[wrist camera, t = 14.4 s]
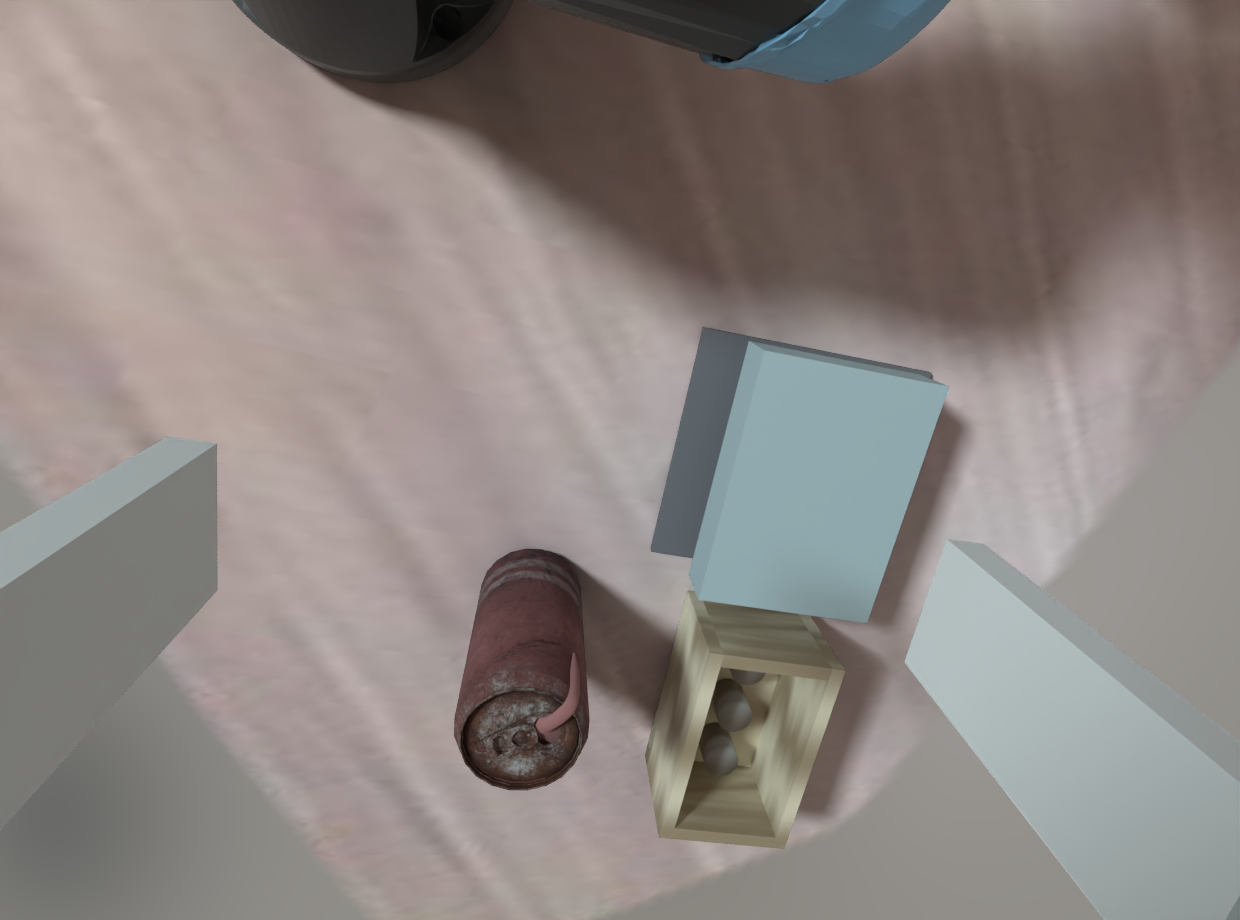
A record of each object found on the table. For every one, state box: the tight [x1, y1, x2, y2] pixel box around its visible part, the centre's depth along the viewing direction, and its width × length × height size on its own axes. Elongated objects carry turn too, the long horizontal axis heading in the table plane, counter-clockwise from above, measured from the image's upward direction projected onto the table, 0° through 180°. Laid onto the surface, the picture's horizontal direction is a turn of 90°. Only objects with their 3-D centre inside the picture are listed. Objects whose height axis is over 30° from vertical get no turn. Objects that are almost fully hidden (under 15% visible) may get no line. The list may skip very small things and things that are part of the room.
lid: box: [689, 341, 949, 623], centre depth 40 cm, size 14×10×6 cm
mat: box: [651, 327, 932, 558], centre depth 43 cm, size 14×14×1 cm
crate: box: [645, 591, 846, 849], centre depth 45 cm, size 13×8×7 cm, turn 169°
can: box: [454, 549, 589, 790], centre depth 38 cm, size 6×6×14 cm
